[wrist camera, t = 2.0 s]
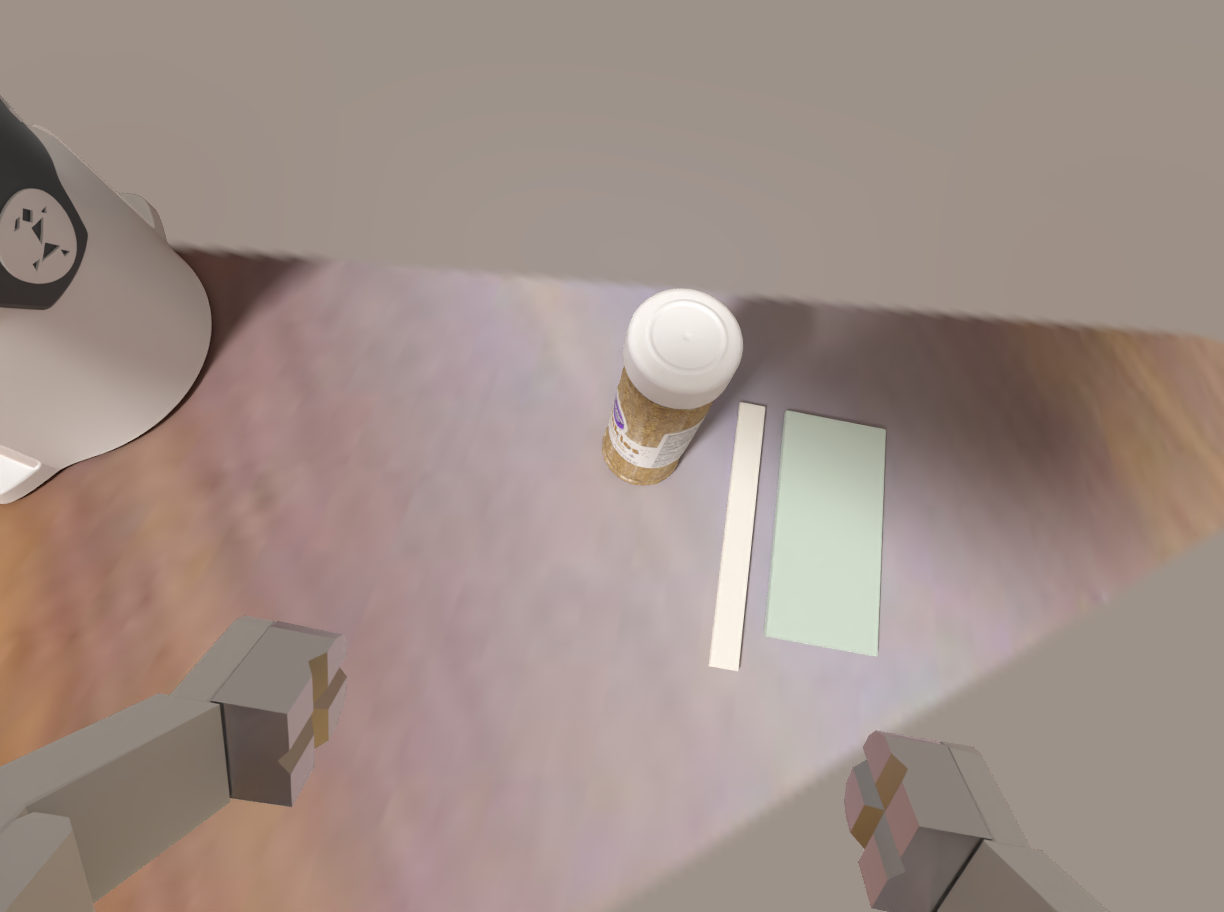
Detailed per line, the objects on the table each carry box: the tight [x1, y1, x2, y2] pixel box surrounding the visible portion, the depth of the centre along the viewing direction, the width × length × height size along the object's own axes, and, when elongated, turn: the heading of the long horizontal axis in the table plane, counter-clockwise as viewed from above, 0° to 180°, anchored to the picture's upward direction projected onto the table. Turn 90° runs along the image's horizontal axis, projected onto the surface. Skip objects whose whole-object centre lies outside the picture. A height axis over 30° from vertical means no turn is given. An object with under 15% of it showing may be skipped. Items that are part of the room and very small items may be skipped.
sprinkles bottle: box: [602, 288, 743, 485], centre depth 32 cm, size 5×5×14 cm
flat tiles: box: [708, 402, 886, 671], centre depth 37 cm, size 9×15×1 cm, turn 170°
